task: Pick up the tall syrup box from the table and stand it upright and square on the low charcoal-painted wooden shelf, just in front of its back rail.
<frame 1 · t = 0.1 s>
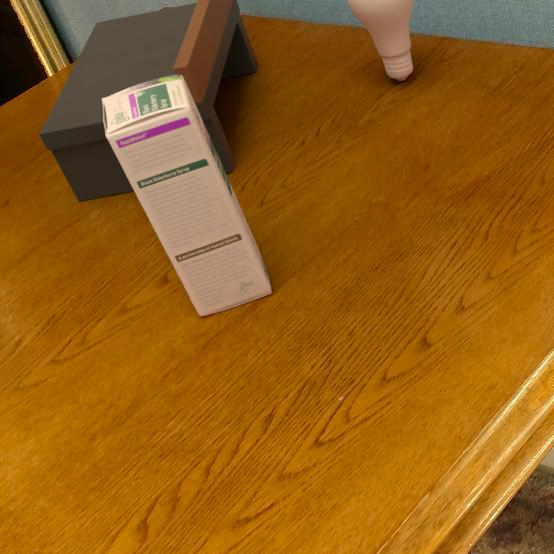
syrup box: (231, 289, 75), on the table
lightbulb: (402, 81, 94), on the table
shelf: (175, 127, 95), on the table
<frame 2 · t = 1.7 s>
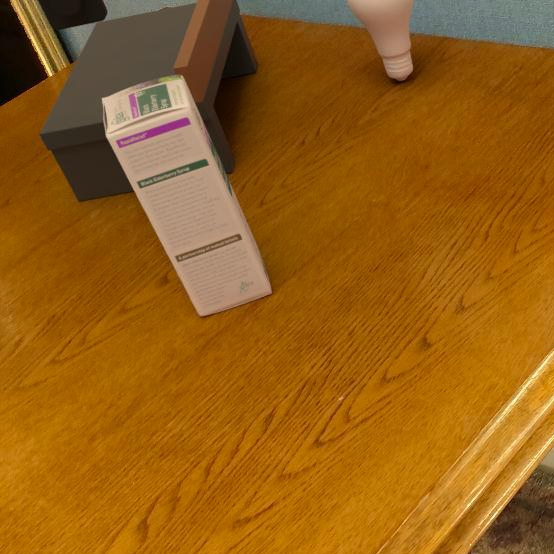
nothing on the table moved.
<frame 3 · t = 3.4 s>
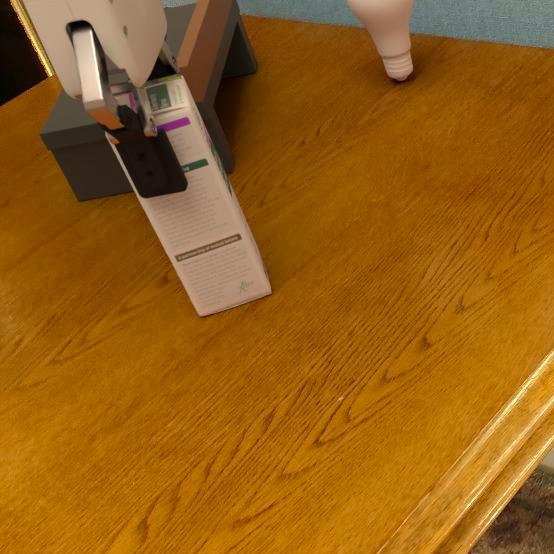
hand: (173, 162, 67), 10 cm above the table, tool pointing down, fingers closed on syrup box, 6 cm apart
syrup box: (231, 290, 75), on the table, touching gripper
everything else where it was.
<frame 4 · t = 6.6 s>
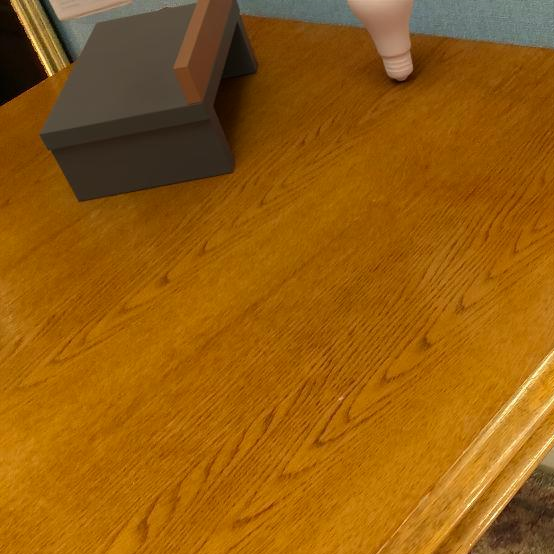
syrup box: (96, 4, 76), point 15 cm above the table, touching gripper
everything else where it was.
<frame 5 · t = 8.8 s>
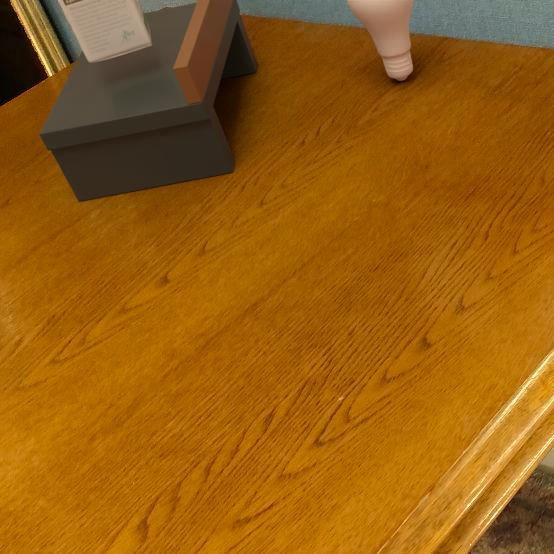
syrup box: (119, 46, 87), point 9 cm above the table, touching gripper
everything else where it was.
when the fingers open (17 cm above the table, at t = 10.0 s): syrup box stays where it is, resting on shelf.
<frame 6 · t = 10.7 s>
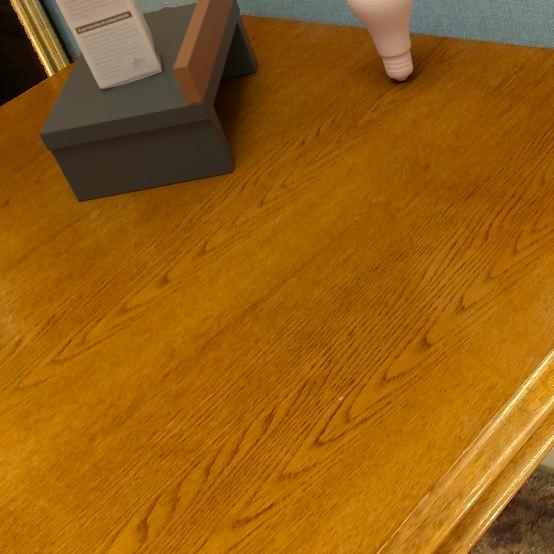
syrup box: (130, 72, 89), point 6 cm above the table, touching shelf
everything else where it was.
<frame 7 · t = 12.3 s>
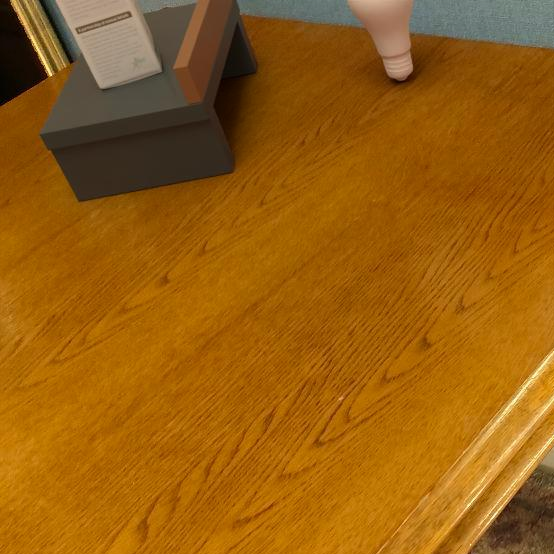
nothing on the table moved.
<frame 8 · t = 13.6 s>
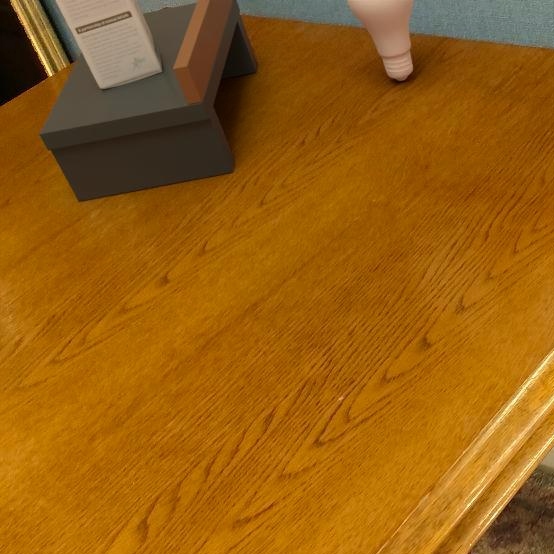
nothing on the table moved.
at the end: syrup box inside the target area on the shelf (2.2 cm from its centre), point 6.3 cm above the shelf's base; syrup box tilted 0° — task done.
